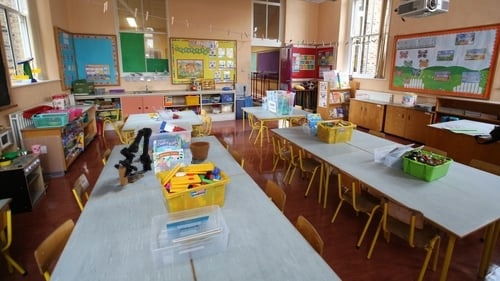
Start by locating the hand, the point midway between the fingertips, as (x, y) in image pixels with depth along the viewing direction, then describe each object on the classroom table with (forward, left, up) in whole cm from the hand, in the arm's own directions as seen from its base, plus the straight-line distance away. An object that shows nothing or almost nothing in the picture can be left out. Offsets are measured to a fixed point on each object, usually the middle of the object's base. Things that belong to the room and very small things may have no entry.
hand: (122, 177), depth 227 cm
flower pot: (-83, -11, -7) cm, 84 cm away
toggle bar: (-1, -1, -7) cm, 7 cm away
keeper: (-11, -7, -7) cm, 15 cm away
